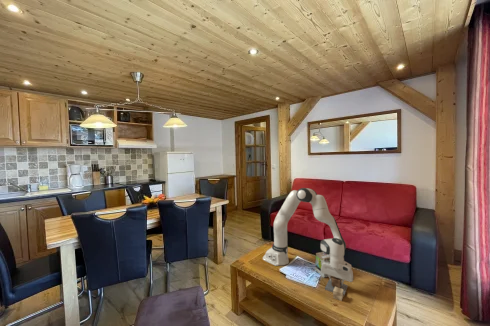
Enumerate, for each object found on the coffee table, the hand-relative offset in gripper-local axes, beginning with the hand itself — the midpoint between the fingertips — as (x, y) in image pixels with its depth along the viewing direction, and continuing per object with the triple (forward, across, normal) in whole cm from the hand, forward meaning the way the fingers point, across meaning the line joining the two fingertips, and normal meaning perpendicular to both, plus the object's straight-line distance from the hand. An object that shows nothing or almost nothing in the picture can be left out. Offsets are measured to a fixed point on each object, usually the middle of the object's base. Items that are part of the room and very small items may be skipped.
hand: (336, 283), depth 145 cm
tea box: (+4, -10, +16) cm, 19 cm away
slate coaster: (+4, 0, 0) cm, 4 cm away
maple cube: (+4, +3, -9) cm, 10 cm away
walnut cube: (+2, 0, 0) cm, 2 cm away
